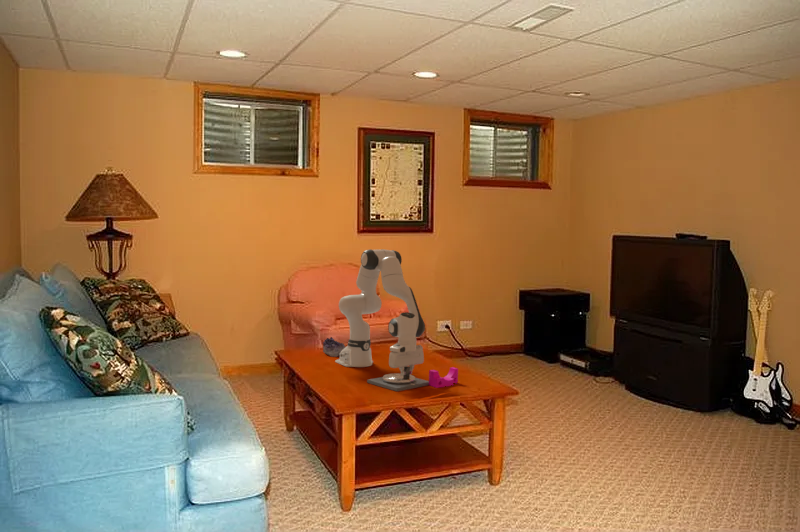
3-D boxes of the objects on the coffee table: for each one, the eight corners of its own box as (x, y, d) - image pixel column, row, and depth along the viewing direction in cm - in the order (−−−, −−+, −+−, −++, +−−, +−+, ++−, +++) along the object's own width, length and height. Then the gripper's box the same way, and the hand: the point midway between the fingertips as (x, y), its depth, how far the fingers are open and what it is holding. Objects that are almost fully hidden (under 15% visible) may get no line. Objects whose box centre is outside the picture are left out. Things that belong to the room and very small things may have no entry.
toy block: (436, 388, 316) (437, 372, 315) (428, 385, 321) (429, 370, 320) (460, 384, 324) (461, 369, 324) (452, 382, 329) (453, 367, 329)
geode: (316, 353, 397) (316, 336, 396) (333, 351, 403) (333, 335, 402) (330, 359, 379) (330, 342, 379) (348, 357, 385) (348, 340, 385)
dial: (375, 379, 323) (376, 364, 322) (400, 374, 333) (400, 360, 333) (397, 385, 311) (398, 369, 310) (422, 380, 321) (422, 365, 321)
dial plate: (367, 382, 323) (367, 379, 323) (400, 376, 338) (400, 373, 338) (396, 391, 307) (397, 387, 307) (430, 384, 321) (430, 381, 321)
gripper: (418, 343, 326) (417, 370, 327) (387, 347, 313) (386, 376, 313) (427, 345, 322) (426, 373, 322) (395, 349, 308) (395, 378, 309)
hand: (406, 374), depth 318 cm, fingers closed on dial, 3 cm apart
